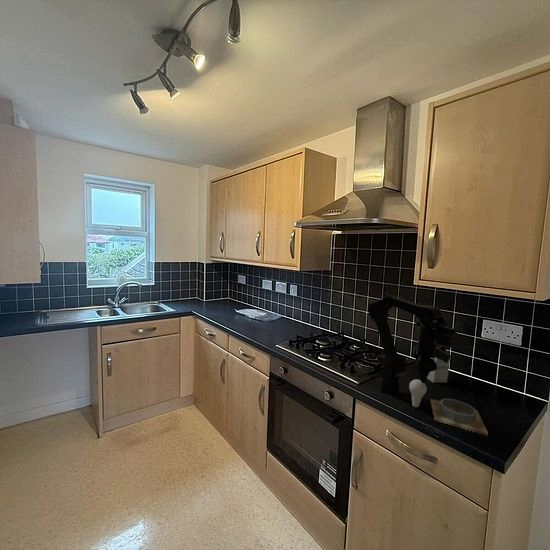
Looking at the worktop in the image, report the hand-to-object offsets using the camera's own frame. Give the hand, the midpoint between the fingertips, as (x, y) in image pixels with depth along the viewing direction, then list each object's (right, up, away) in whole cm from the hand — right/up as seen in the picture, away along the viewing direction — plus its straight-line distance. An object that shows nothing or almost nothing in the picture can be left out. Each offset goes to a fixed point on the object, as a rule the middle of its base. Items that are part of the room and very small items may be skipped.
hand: (421, 377), depth 116 cm
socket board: (+11, -13, -4) cm, 18 cm away
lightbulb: (-2, -12, +1) cm, 12 cm away
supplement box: (+21, -11, +28) cm, 37 cm away
